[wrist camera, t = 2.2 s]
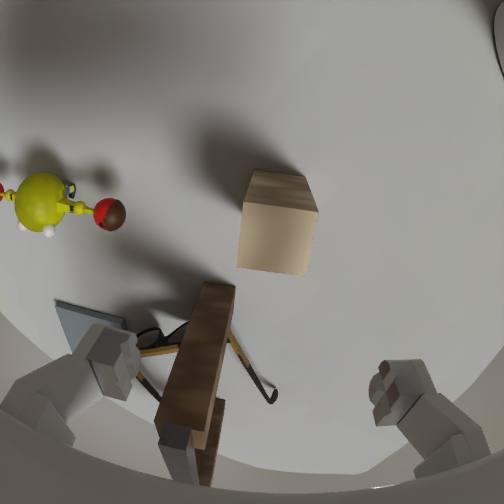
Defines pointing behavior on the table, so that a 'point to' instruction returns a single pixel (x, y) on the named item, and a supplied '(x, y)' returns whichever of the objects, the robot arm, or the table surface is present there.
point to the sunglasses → (157, 344)
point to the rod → (179, 452)
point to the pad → (83, 322)
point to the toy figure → (57, 205)
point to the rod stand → (200, 376)
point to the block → (277, 224)
